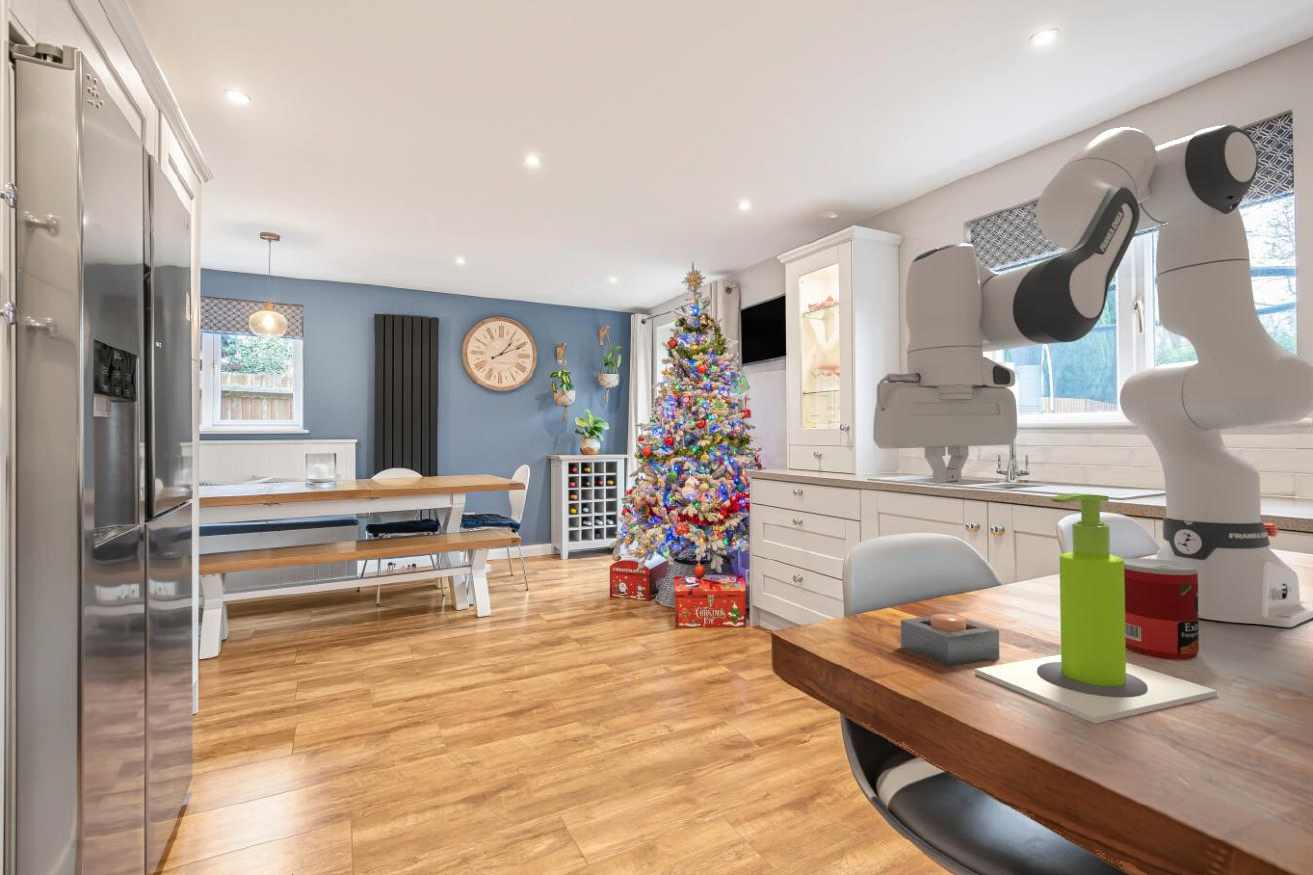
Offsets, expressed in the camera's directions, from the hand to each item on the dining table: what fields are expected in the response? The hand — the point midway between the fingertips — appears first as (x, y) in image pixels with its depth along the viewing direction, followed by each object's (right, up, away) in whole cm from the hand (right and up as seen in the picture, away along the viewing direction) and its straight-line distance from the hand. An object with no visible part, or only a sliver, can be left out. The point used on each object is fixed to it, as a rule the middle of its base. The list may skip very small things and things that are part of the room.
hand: (947, 483), depth 82 cm
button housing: (0, -21, 0) cm, 21 cm away
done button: (0, -20, 0) cm, 20 cm away
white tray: (+10, -21, -11) cm, 26 cm away
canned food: (+27, -21, 0) cm, 34 cm away
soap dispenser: (+10, -21, -11) cm, 26 cm away
